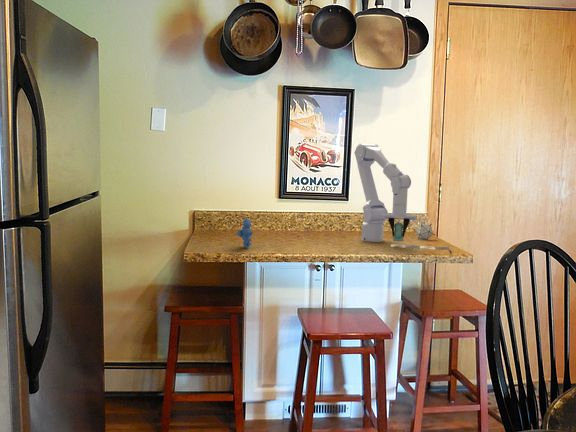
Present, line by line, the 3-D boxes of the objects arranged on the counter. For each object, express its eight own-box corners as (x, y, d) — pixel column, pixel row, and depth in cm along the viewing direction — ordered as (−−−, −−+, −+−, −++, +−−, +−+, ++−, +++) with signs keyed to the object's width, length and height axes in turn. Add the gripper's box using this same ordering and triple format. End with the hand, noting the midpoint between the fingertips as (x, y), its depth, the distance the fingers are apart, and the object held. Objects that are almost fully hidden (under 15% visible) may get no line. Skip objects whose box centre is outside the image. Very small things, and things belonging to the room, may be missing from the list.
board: (390, 250, 218) (390, 247, 218) (390, 245, 228) (390, 243, 228) (451, 253, 214) (451, 250, 214) (448, 248, 224) (448, 246, 224)
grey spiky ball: (423, 249, 242) (416, 233, 236) (414, 239, 249) (408, 224, 243) (440, 239, 241) (434, 223, 236) (431, 230, 249) (425, 214, 243)
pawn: (392, 241, 221) (393, 222, 220) (392, 239, 225) (393, 221, 224) (403, 241, 220) (404, 223, 219) (403, 239, 224) (404, 221, 223)
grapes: (236, 244, 224) (236, 216, 223) (252, 244, 225) (252, 216, 223) (236, 250, 213) (236, 220, 211) (253, 250, 213) (253, 220, 212)
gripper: (381, 204, 218) (380, 237, 220) (418, 206, 215) (416, 239, 217) (382, 202, 225) (380, 234, 226) (417, 204, 222) (415, 236, 224)
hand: (398, 236), depth 222 cm, fingers closed on pawn, 3 cm apart
